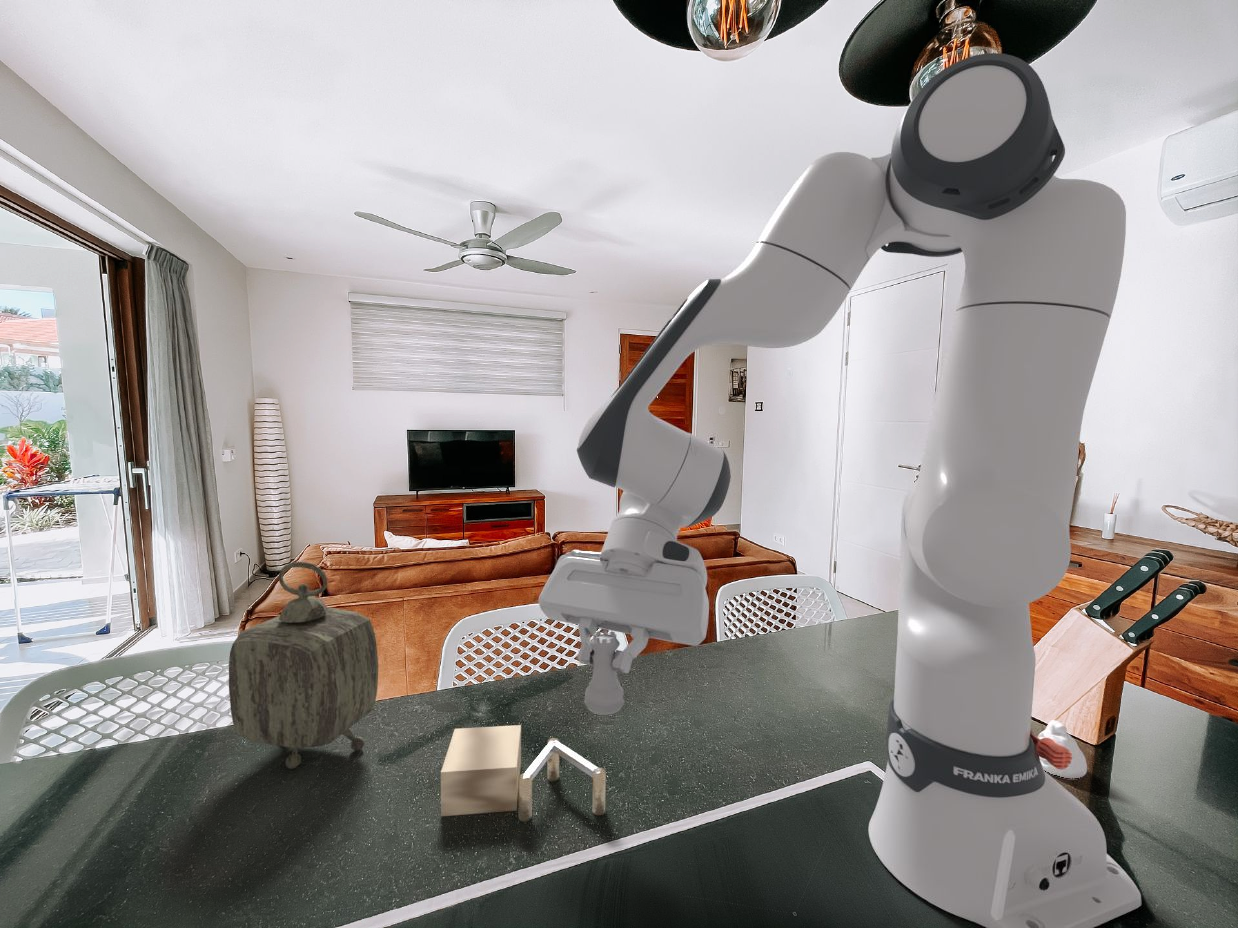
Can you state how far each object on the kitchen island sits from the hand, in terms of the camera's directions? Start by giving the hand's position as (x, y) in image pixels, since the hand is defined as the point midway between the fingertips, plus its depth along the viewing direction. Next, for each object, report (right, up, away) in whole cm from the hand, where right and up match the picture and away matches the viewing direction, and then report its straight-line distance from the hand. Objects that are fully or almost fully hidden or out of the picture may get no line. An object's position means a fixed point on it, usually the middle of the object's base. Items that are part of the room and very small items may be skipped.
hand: (602, 666), depth 56 cm
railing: (-6, -16, +3) cm, 17 cm away
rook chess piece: (0, -5, +1) cm, 5 cm away
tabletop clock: (-38, -15, +9) cm, 42 cm away
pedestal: (-14, -16, +4) cm, 21 cm away
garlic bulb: (+57, -17, +9) cm, 61 cm away
